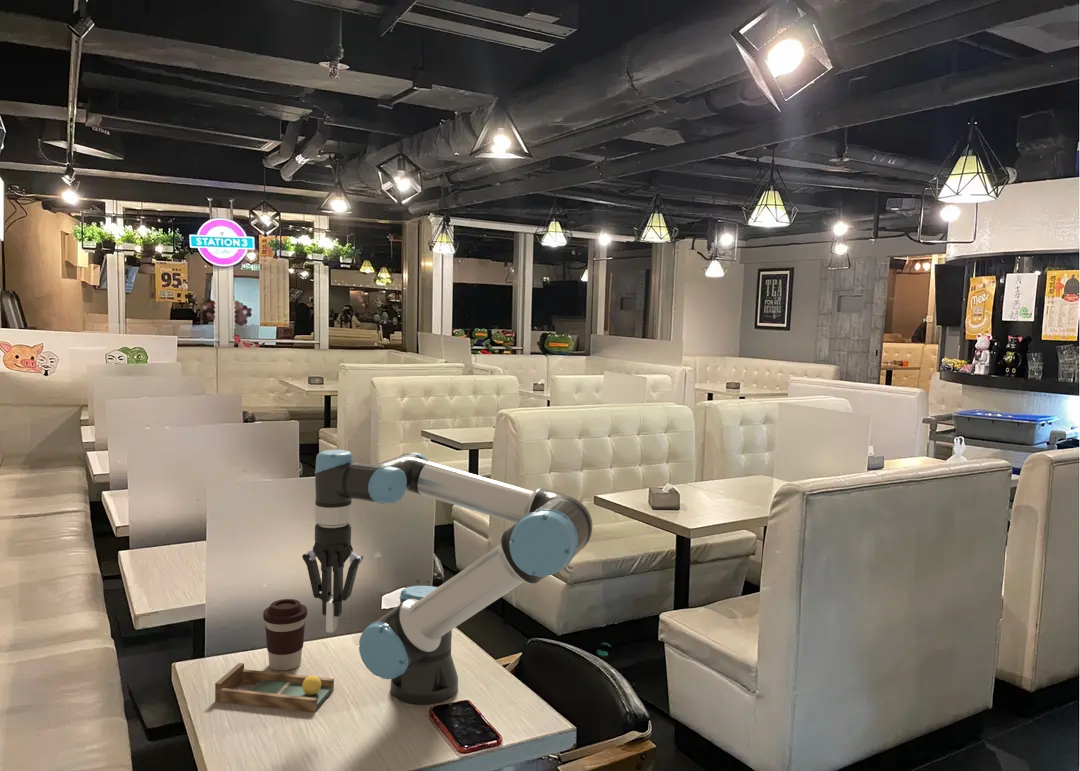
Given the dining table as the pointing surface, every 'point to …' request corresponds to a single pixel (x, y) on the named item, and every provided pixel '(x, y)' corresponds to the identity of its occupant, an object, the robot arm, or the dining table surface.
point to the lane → (271, 690)
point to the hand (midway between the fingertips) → (331, 629)
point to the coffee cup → (285, 633)
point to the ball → (311, 685)
